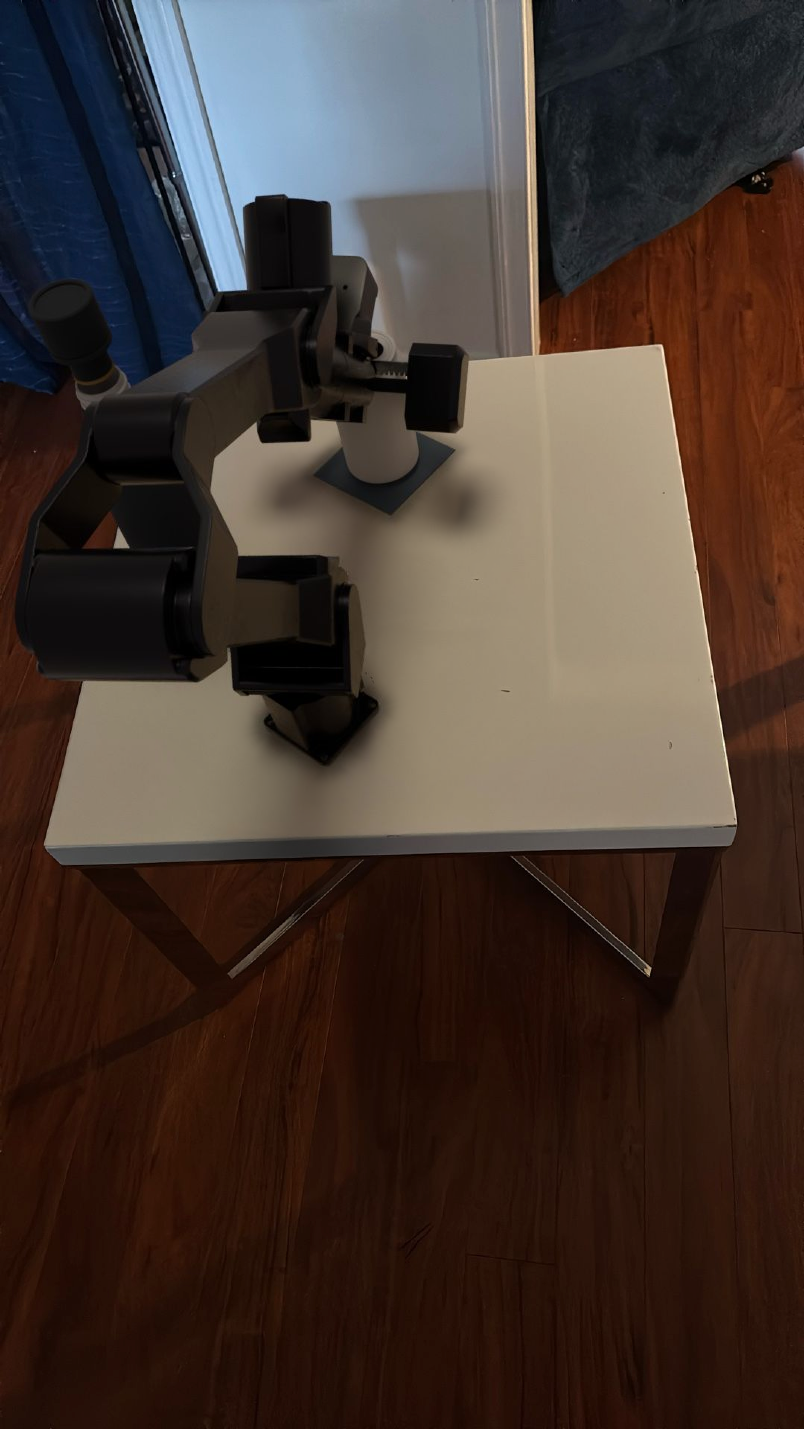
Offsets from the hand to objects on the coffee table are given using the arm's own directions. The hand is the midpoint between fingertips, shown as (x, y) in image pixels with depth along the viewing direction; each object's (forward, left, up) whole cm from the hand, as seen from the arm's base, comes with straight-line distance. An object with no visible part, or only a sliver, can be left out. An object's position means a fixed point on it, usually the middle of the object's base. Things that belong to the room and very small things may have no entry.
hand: (375, 391), depth 87 cm
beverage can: (-1, -1, -7) cm, 7 cm away
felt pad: (-1, -1, -7) cm, 7 cm away
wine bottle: (-22, +1, -7) cm, 23 cm away
